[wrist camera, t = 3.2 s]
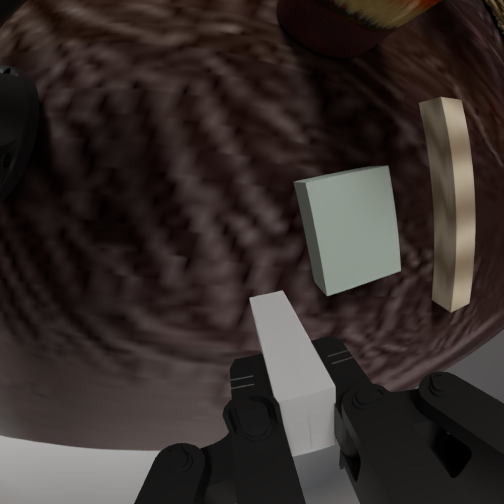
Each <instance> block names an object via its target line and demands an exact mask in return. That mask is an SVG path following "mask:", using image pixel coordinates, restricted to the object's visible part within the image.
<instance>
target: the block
mask: <svg viewBox="0 0 504 504" xmlns="http://www.w3.org/2000/svg"><path fill="white" fill-rule="evenodd" d="M294 185H295V190H296V194H297V199H298V203H299V208H300V212H301V217H302V222H303V226H304V231H305V236H306V241H307V246H308V251H309V256H310V261H311V267H312V272H313V277H314V282H315V283H316V284H317V285H318V287H319V288H320V289H321V290H322V291H323V292H324V293H325V294H326V296H329V295H333V294H336V293H339V292H342V291H345V290H348V289H351V288H354V287H356V286H359V285H362V284H365V283H368V282H371V281H374V280H376V279H379V278H382V277H385V276H388V275H390V274H393V273H396V272H398V271H401V265H400V251H399V239H398V229H397V220H396V212H395V205H394V198H393V191H392V185H391V179H390V173H389V168H388V166H368V167H363V168H357V169H352V170H347V171H342V172H337V173H332V174H327V175H323V176H318V177H314V178H309V179H304V180H300V181H296V182H294Z"/></svg>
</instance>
